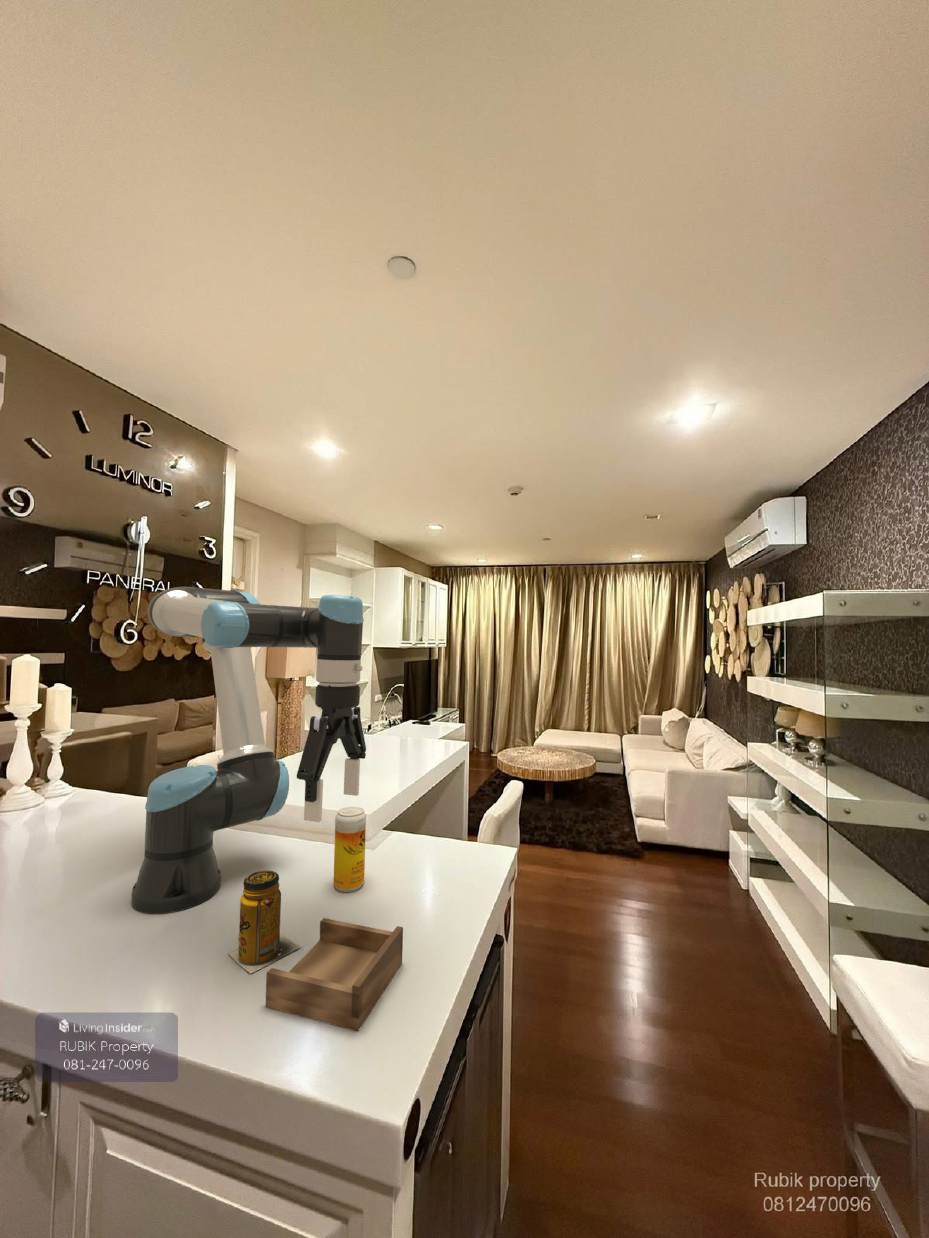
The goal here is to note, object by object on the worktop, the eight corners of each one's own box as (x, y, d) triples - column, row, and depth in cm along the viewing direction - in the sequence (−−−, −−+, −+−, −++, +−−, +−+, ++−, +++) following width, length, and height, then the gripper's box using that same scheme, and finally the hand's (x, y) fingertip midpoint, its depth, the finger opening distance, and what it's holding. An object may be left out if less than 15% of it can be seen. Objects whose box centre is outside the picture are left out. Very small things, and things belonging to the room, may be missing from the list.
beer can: (356, 895, 97) (358, 817, 98) (327, 891, 98) (330, 814, 99) (368, 880, 103) (370, 807, 104) (341, 877, 104) (343, 804, 105)
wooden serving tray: (265, 1006, 67) (266, 964, 68) (322, 946, 81) (323, 911, 81) (358, 1031, 63) (359, 986, 64) (402, 963, 77) (403, 927, 77)
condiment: (227, 954, 78) (230, 876, 79) (277, 931, 85) (280, 859, 85) (250, 975, 74) (253, 892, 74) (301, 948, 80) (303, 873, 81)
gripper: (321, 692, 74) (315, 837, 73) (385, 679, 98) (381, 787, 97) (276, 689, 76) (270, 830, 75) (350, 677, 100) (346, 783, 99)
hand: (333, 806), depth 86 cm, fingers open, 13 cm apart
